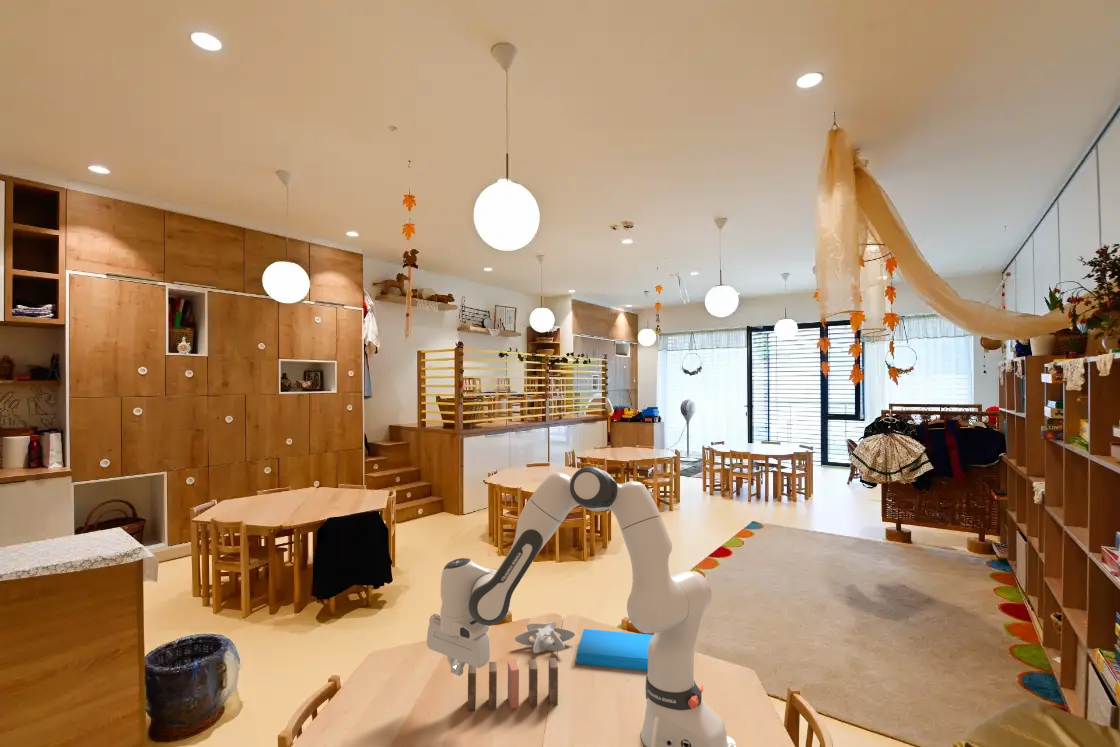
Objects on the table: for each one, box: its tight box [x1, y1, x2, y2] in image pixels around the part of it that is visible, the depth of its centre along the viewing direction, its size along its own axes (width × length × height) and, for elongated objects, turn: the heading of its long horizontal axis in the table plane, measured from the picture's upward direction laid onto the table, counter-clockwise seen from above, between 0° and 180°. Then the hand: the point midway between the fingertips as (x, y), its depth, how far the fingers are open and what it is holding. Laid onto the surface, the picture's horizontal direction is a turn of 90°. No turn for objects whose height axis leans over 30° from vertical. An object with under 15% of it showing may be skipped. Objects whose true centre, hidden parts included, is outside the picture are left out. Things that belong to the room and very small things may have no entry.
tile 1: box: [467, 664, 477, 712], centre depth 145 cm, size 2×5×10 cm, turn 7°
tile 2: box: [488, 661, 498, 711], centre depth 146 cm, size 2×5×10 cm, turn 7°
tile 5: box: [547, 657, 559, 706], centre depth 148 cm, size 2×5×10 cm, turn 7°
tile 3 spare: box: [507, 660, 520, 709], centre depth 147 cm, size 2×5×10 cm, turn 17°
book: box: [575, 628, 654, 672], centre depth 173 cm, size 17×4×25 cm
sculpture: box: [514, 621, 576, 654], centre depth 179 cm, size 18×20×6 cm
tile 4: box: [528, 658, 539, 708], centre depth 148 cm, size 2×5×10 cm, turn 7°
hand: (456, 673), depth 145 cm, fingers closed
